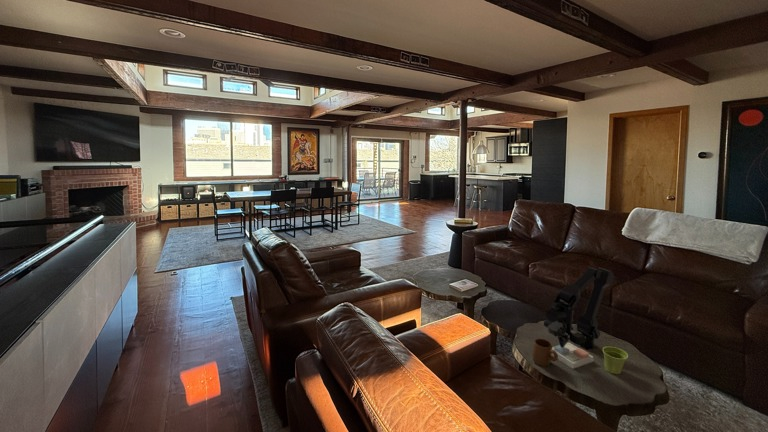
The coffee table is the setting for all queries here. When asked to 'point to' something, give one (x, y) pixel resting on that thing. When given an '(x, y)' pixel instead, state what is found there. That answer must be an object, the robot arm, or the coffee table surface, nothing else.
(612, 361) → the plant pot
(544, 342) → the mug
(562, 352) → the key slate
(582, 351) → the key coral
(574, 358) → the key sage
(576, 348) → the key cream
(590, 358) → the keypad
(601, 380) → the coffee table surface
